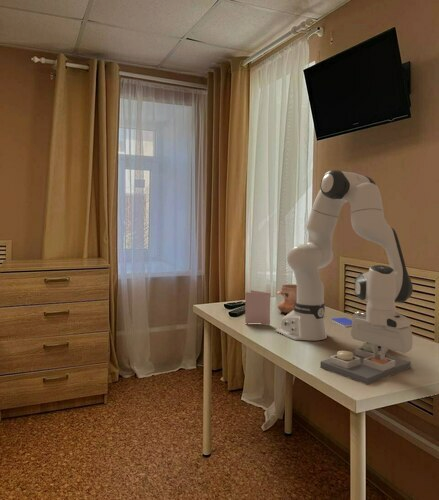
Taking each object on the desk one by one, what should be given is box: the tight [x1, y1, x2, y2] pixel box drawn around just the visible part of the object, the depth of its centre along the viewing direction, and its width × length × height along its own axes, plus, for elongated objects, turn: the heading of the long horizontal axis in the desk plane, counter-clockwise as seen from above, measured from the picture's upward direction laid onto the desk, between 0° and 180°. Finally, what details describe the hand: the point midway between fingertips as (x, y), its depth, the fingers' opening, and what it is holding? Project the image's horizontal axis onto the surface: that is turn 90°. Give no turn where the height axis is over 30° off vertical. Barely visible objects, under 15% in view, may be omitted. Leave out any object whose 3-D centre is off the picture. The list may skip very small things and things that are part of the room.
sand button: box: [336, 350, 353, 362], centre depth 139 cm, size 5×5×2 cm
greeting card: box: [244, 290, 271, 325], centre depth 197 cm, size 11×7×15 cm, turn 46°
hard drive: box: [330, 317, 353, 328], centre depth 199 cm, size 2×8×12 cm
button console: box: [319, 346, 412, 386], centre depth 141 cm, size 18×24×4 cm
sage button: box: [362, 342, 378, 353], centre depth 147 cm, size 5×5×2 cm
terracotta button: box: [371, 357, 388, 364], centre depth 137 cm, size 5×5×2 cm
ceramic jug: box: [276, 283, 297, 315], centre depth 220 cm, size 18×14×14 cm
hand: (379, 358), depth 137 cm, fingers closed
